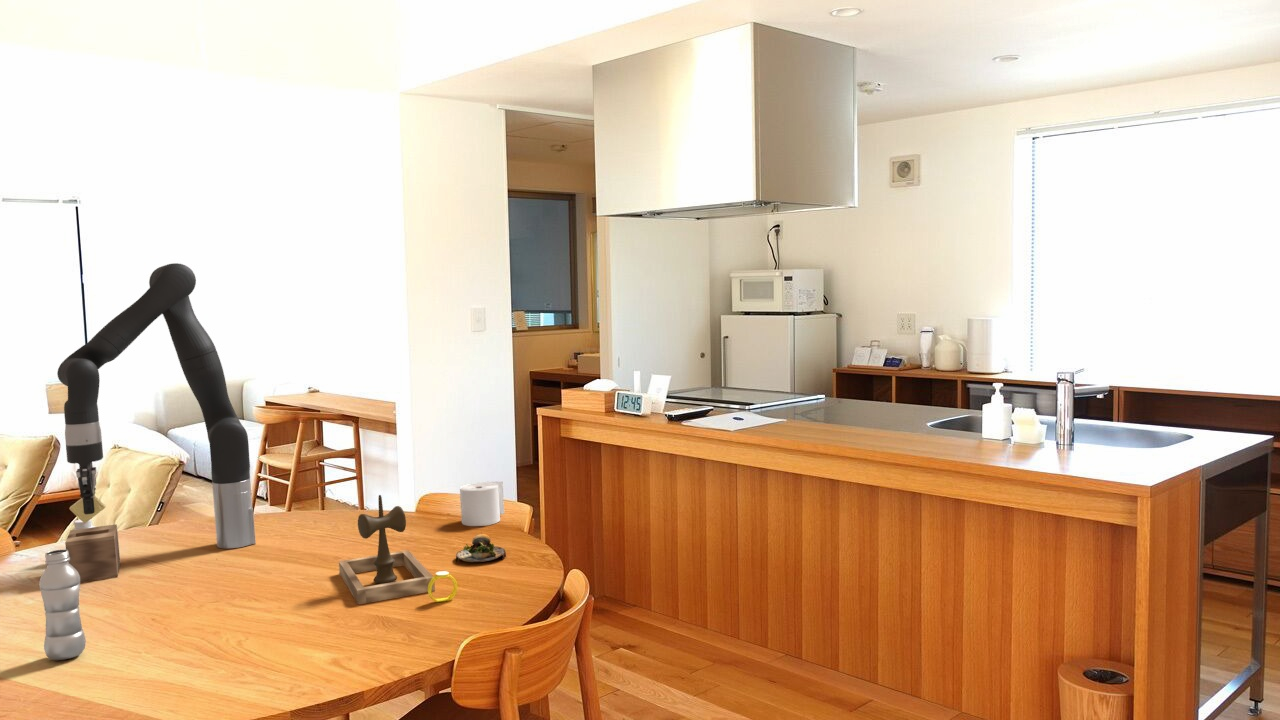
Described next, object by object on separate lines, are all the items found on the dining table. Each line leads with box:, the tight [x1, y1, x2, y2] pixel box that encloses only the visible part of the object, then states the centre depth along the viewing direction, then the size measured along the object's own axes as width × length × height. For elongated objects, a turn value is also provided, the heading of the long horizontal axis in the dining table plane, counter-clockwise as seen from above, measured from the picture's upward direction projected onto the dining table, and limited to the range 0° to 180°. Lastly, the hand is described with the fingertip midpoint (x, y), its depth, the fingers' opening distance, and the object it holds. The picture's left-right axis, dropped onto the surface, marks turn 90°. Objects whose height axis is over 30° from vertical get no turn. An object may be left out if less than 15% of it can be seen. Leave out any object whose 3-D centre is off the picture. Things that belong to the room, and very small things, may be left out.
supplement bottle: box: [72, 518, 96, 530], centre depth 246 cm, size 6×6×10 cm
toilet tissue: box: [459, 481, 505, 527], centre depth 269 cm, size 11×12×10 cm
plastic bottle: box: [38, 548, 87, 661], centre depth 178 cm, size 6×7×20 cm
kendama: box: [357, 494, 407, 585], centre depth 216 cm, size 6×10×20 cm, turn 129°
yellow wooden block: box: [69, 494, 106, 523], centre depth 231 cm, size 5×2×6 cm
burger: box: [455, 533, 507, 563], centre depth 232 cm, size 12×12×8 cm
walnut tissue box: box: [64, 524, 121, 584], centre depth 233 cm, size 10×13×10 cm
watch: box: [427, 570, 458, 603], centre depth 202 cm, size 6×3×6 cm, turn 121°
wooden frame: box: [338, 550, 436, 605], centre depth 217 cm, size 16×25×3 cm, turn 26°
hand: (89, 512), depth 232 cm, fingers closed on yellow wooden block, 2 cm apart
